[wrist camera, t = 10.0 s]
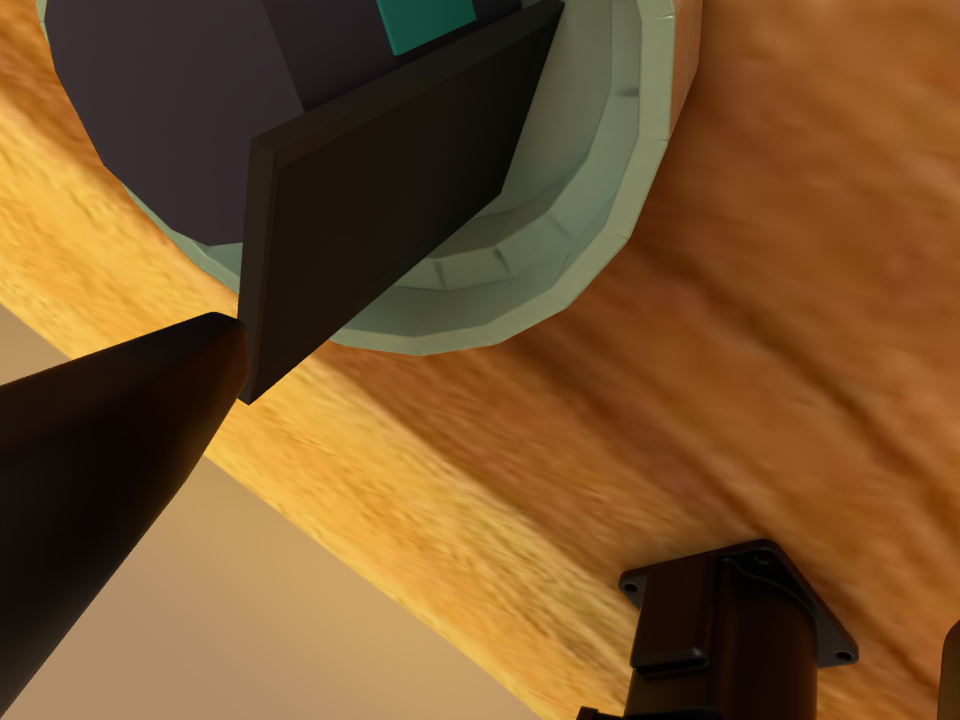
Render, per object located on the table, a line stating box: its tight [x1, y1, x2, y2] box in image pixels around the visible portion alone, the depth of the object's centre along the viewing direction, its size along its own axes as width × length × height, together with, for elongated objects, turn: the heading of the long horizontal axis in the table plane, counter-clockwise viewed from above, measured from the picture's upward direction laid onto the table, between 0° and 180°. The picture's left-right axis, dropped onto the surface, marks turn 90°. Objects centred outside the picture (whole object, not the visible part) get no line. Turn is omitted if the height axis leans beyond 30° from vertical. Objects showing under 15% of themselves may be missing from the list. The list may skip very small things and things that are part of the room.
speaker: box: [44, 0, 565, 405], centre depth 16 cm, size 8×6×10 cm
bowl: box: [35, 0, 703, 356], centre depth 18 cm, size 14×14×5 cm
